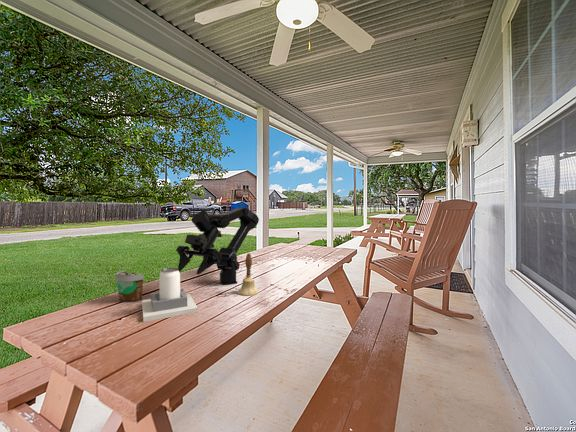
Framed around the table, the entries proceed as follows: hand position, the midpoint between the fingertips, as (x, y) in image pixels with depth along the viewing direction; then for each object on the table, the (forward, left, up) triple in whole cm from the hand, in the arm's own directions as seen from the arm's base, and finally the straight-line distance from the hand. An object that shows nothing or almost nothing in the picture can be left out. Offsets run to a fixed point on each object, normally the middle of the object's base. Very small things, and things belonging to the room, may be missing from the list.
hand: (187, 272), depth 102 cm
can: (+7, +6, -9) cm, 13 cm away
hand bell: (-23, +2, -11) cm, 25 cm away
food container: (+20, -11, -11) cm, 25 cm away
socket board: (+7, +5, -10) cm, 14 cm away
